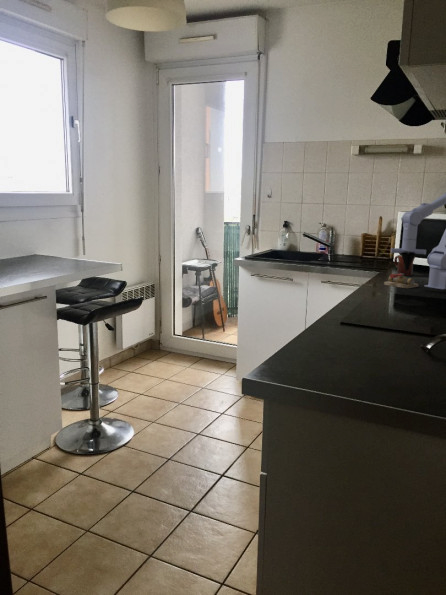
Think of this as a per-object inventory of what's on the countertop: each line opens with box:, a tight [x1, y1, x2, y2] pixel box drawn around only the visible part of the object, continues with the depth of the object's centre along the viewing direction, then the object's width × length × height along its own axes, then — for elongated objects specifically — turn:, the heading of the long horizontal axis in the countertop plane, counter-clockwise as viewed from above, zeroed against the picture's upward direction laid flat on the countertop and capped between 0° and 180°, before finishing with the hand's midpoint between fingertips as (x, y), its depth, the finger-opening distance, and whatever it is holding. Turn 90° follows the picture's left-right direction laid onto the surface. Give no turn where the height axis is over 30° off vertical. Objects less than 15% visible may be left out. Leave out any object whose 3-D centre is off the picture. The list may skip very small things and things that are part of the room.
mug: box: [393, 254, 416, 277], centre depth 263 cm, size 12×9×10 cm
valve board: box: [383, 276, 419, 289], centre depth 231 cm, size 12×9×4 cm
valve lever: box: [389, 273, 405, 278], centre depth 229 cm, size 9×2×1 cm, turn 129°
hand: (406, 269), depth 221 cm, fingers closed
